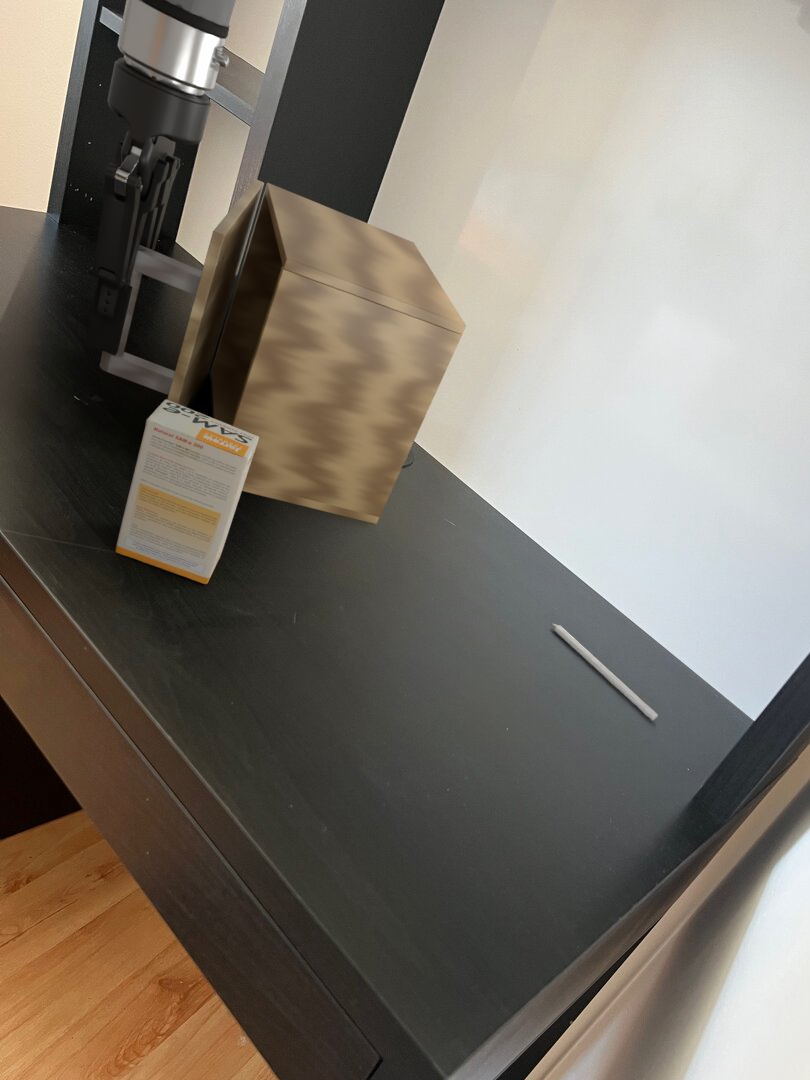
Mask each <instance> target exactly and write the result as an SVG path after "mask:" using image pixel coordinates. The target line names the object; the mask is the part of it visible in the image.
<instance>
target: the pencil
mask: <svg viewBox="0 0 810 1080" xmlns="http://www.w3.org/2000/svg"><path fill="white" fill-rule="evenodd" d="M551 624H552V627H553V629H554V632H555V633H556V634H557V635H558V636H560V637H561V638H562V639H563V640H564V641H565V642H566V643H567V644H569V646H570V647H571V648H573V649H574V650H575V651H576V652H577V653H578V654H579V655H580V656H582V658H583V659H584V660H585V661H587V662H588V663H589V664H590V665H591V666H592V667H593V668H595V670H596V671H597V672H599V674H601V675H602V676H603V677H604V678H605V679H606V680H607V681H608V682H609V683H611V684H612V685H613V686H614V687H615V688H616V689H617V691H619V692H621V694H622V695H624V696H625V697H626V699H628V701H630V702H631V703H632V704H633V705H634V706H636V707H637V708H638V709H639V710H640V711H641V713H643V714H644V715H645V716H646V717H647V718H648V719H649V720H650V721H652V722H653V721H655V720H656V719H657V718H658V716H659V714H658V713H657V712H656V711H655V710H654V709H653V708H651V706H649V705H648V704H647V703H646V702H645V701H644V700H643V699H641V698H640V696H638V695H637V694H636V693H635V692H634V691H633V690H632V689H630V688H629V687H628V685H626V684H625V683H624V682H623V681H622V680H621V679H619V678H618V677H617V676H616V674H614V673H613V672H612V671H611V670H610V669H609V668H608V667H606V666H605V664H603V663H602V662H601V661H600V660H599V659H598V658H596V656H595V655H593V653H591V652H590V651H589V650H588V649H586V647H584V646H583V645H582V644H581V643H580V642H579V641H578V640H577V639H576V638H575V637H574V636H572V635H571V634H570V633H569V632H568V631H567V630H566V629H565V628H564V627H563V626H562V625H561V624H560V625H559V624H556V623H553V622H552V623H551Z"/></svg>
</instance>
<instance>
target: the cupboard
mask: <svg viewBox="0 0 810 1080" xmlns="http://www.w3.org/2000/svg"><path fill="white" fill-rule="evenodd" d="M258 208H259V209H258V212H257V215H256V218H255V221H254V225H253V228H252V233H251V236H250V238H249V243H248V245H247V248H246V252H245V256H244V259H243V263H242V266H241V269H240V273H239V276H238V279H237V283H236V286H235V290H234V291H233V296H232V300H231V302H230V307H229V310H228V313H227V316H226V320H225V323H224V326H223V329H222V332H221V337H220V340H219V343H218V347H217V350H216V353H215V357H214V361H213V363H212V367H211V371H210V373H209V384H210V385H209V388H210V390H209V391H210V413H211V416H210V417H211V418H213V419H216V420H219V421H221V422H224V423H226V424H229V425H231V426H233V427H236V428H239V429H241V430H243V431H246V432H249V433H251V434H253V435H256V436H258V437H259V439H258V443H257V446H256V449H255V452H254V455H253V458H252V461H251V464H250V467H249V470H248V473H247V476H246V479H245V483H244V486H243V489H242V492H245V493H248V494H249V493H250V494H252V495H253V494H254V495H257V496H261V497H266V498H269V499H273V500H277V501H282V502H284V503H285V502H287V503H290V504H293V505H297V506H302V507H306V508H309V509H313V510H318V511H321V512H326V513H329V514H330V513H331V514H334V515H338V516H342V517H346V518H349V519H353V520H358V521H363V522H366V523H370V524H375V525H377V524H378V522H379V519H380V517H381V516H382V512H383V511H384V508H385V506H386V504H387V502H388V499H389V497H390V496H391V495H390V494H391V493H392V491H393V488H394V486H395V484H396V482H397V480H398V478H399V475H400V473H401V470H402V468H403V466H404V465H405V462H406V460H407V458H408V456H409V453H410V451H411V448H412V446H413V445H414V442H415V440H416V438H417V435H418V433H419V432H420V429H421V427H422V425H423V422H424V420H425V418H426V415H427V414H428V411H429V409H430V407H431V404H432V403H433V400H434V398H435V396H436V393H437V391H438V389H439V387H440V385H441V382H442V380H443V378H444V376H445V373H446V372H447V370H448V368H449V365H450V362H451V361H452V358H453V356H454V354H455V351H456V350H457V348H458V346H459V343H460V341H461V339H462V337H463V334H464V332H465V329H466V327H467V324H466V323H465V322H464V320H463V318H462V316H461V315H460V313H459V312H458V310H457V308H456V307H455V306H454V304H453V302H452V300H451V299H450V297H449V296H448V294H447V293H446V291H445V289H444V288H443V287H442V285H441V284H440V282H439V280H438V278H437V277H436V276H435V274H434V272H433V271H432V269H431V267H430V266H429V264H428V262H427V261H426V260H425V258H424V256H423V255H422V253H421V252H420V250H419V249H418V247H417V246H416V244H415V242H414V241H411V240H409V239H406V238H403V237H402V236H399V235H398V234H397V235H396V234H394V233H392V232H389V231H387V230H384V229H382V228H379V227H377V226H375V225H372V224H370V223H368V222H366V221H363V220H360V219H358V218H355V217H353V216H351V215H348V214H345V213H343V212H341V211H338V210H336V209H334V208H331V207H329V206H325V205H324V204H321V203H319V202H316V201H314V200H311V199H309V198H306V197H304V196H303V195H302V196H301V195H299V194H297V193H294V192H292V191H289V190H288V189H284V188H282V187H279V186H277V185H275V184H272V183H271V182H266V185H265V188H264V191H263V195H262V199H261V202H260V205H259V207H258Z"/></svg>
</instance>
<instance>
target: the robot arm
mask: <svg viewBox="0 0 810 1080" xmlns="http://www.w3.org/2000/svg"><path fill="white" fill-rule="evenodd" d="M236 2H237V0H126V1H125V5H124V11H123V15H122V21H121V25H120V31H119V34H118V40H117V48H118V49H119V51H120V52H121V53H122V54H123V57H119V58H118V59H117V60H115V61H114V65H113V70H112V74H111V81H110V84H109V89H108V96H107V104H108V106H109V108H110V110H111V111H112V112H113V113H114V114H115V115H117V116H118V117H119V118H122V119H124V121H125V122H126V124H127V125H128V130H127V131H126V134H125V138H124V141H122V140H120V141H119V142H118V145H117V148H116V152H115V156H114V161H115V164H116V165H115V164H114V163H111V162H109V163H108V164H107V165H106V166H105V168H104V194H103V200H102V206H101V213H100V218H99V225H98V226H99V227H98V233H97V238H96V244H95V245H96V246H95V252H94V259H93V263H92V264H93V265H92V267H90V268H89V269H88V274H89V275H91V276H93V277H95V278H97V279H98V280H97V285H96V290H95V296H94V299H93V305H92V310H91V315H90V319H89V324H88V329H87V334H86V337H85V338H86V339H85V345H88V346H90V347H93V348H95V349H98V350H100V351H102V352H103V351H105V352H107V353H110V354H112V355H116V354H117V352H118V348H119V344H120V339H121V335H122V331H123V326H124V322H125V318H126V313H127V309H128V305H129V300H130V296H131V292H132V287H131V286H130V283H131V281H130V280H131V276H132V272H133V268H134V264H135V260H136V256H137V252H138V248H139V245H141V246H144V247H146V248H148V249H151V250H153V251H155V249H156V246H157V242H158V239H159V235H160V232H161V228H162V223H163V220H164V217H165V214H166V209H167V206H168V203H169V198H170V195H171V191H172V188H173V185H174V181H175V179H176V176H177V173H178V170H179V169H180V167H181V158H179V157H177V156H174V154H175V149H176V143H178V144H181V145H186V146H187V145H188V146H194V145H195V146H196V145H199V144H200V143H201V142H202V141H203V138H204V133H205V129H206V125H207V122H208V118H209V113H210V111H211V110H210V109H211V105H212V103H211V101H210V97H209V95H207V94H206V93H205V92H209V91H212V90H214V89H215V87H216V83H217V80H218V75H219V72H220V71H219V70H220V67H222V68H227V67H228V66H229V64H230V57H229V55H228V54H227V53H225V52H223V49H224V48H225V46H226V41H227V38H228V35H229V32H230V28H231V26H230V23H231V19H232V16H233V13H234V8H235V5H236ZM141 279H143V280H146V281H148V282H150V281H151V280H152V278H151V277H149V276H146V275H144V274H142V277H141ZM141 283H142V280H141V281H140V285H139V288H141V287H140V286H141ZM139 291H140V289H139V290H138V294H137V298H136V302H135V305H136V304H137V301H138V300H137V299H138V295H139ZM135 309H136V306H135V307H134V311H133V315H132V318H133V317H134V313H135ZM132 321H133V319H132V320H131V324H130V328H129V332H128V335H129V334H130V329H131V326H132ZM128 338H129V336H128V337H127V341H126V344H127V342H128V340H129V339H128Z"/></svg>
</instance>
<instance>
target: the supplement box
mask: <svg viewBox="0 0 810 1080" xmlns="http://www.w3.org/2000/svg"><path fill="white" fill-rule="evenodd" d="M258 439H259V437H258V436H256V435H253V434H251V433H249V432H246V431H243V430H241V429H239V428H236V427H233V426H231V425H229V424H226V423H224V422H221V421H219V420H216V419H213V418H212V417H211V416H208V415H206V414H204V413H201V412H198V411H196V410H194V409H192V408H190V409H189V408H186V407H184V406H181V405H179V404H176V403H174V402H172V401H169V400H167V399H164V400H163V401H162V402H161V403H160V405H158V406H157V408H156V409H155V410H154V411H153V412H152V413H151V414H150V415H149V416H148V418H146V420H145V427H144V431H143V435H142V438H141V442H140V443H141V444H140V447H139V451H138V455H137V459H136V463H135V467H134V471H133V476H132V480H131V484H130V489H129V491H128V496H127V500H126V504H125V508H124V511H123V516H122V520H121V524H120V529H119V533H118V537H117V542H116V546H115V553H117V554H119V555H122V556H125V557H128V558H131V559H134V560H136V561H139V562H142V563H144V564H148V565H150V566H152V567H153V566H154V567H156V568H159V569H161V570H164V571H167V572H170V573H172V574H176V575H178V576H181V577H184V578H187V579H190V580H192V581H195V582H197V583H200V584H203V585H207V584H208V583H209V581H210V579H211V577H212V575H213V573H214V571H215V569H216V566H217V564H218V563H219V560H220V559H221V556H222V553H223V550H224V547H225V543H226V540H227V538H228V535H229V532H230V528H231V525H232V522H233V519H234V515H235V513H236V510H237V506H238V503H239V501H240V498H241V494H242V493H243V491H242V489H243V486H244V483H245V479H246V476H247V473H248V470H249V467H250V464H251V461H252V458H253V455H254V452H255V449H256V446H257V443H258Z"/></svg>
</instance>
